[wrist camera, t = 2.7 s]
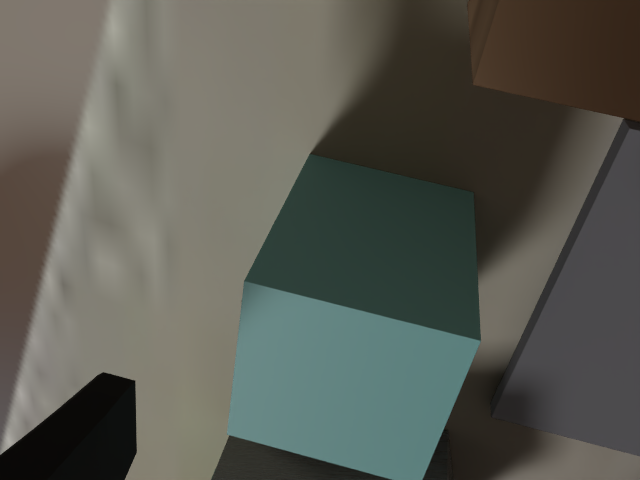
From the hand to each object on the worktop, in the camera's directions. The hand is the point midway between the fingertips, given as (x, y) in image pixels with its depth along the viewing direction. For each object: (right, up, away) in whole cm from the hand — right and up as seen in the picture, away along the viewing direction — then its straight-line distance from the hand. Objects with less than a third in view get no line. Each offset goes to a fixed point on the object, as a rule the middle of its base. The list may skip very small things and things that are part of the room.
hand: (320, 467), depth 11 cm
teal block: (+1, +4, +7) cm, 8 cm away
